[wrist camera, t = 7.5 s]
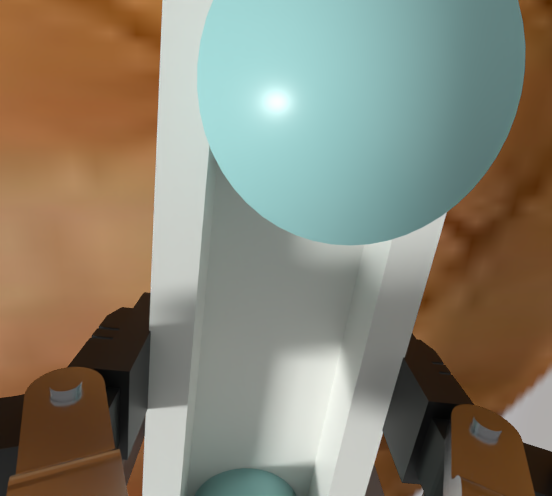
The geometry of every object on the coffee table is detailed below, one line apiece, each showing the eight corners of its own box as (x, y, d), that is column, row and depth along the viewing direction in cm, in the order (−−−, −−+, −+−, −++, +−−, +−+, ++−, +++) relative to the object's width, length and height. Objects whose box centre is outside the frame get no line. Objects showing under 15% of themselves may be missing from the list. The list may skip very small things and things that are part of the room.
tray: (203, -133, 8) (70, -689, 3) (464, -82, 9) (851, -461, 3) (159, 555, 15) (95, 825, 10) (306, 565, 16) (332, 828, 10)
